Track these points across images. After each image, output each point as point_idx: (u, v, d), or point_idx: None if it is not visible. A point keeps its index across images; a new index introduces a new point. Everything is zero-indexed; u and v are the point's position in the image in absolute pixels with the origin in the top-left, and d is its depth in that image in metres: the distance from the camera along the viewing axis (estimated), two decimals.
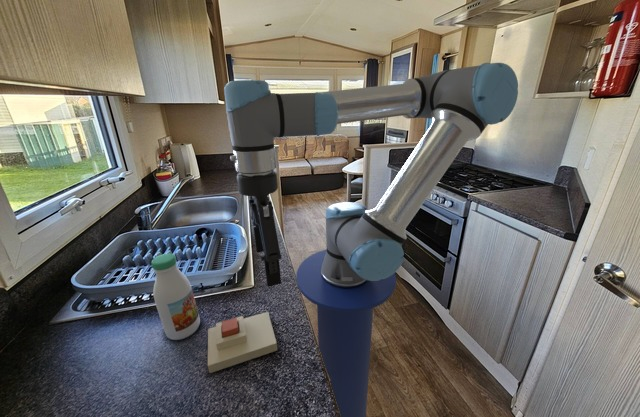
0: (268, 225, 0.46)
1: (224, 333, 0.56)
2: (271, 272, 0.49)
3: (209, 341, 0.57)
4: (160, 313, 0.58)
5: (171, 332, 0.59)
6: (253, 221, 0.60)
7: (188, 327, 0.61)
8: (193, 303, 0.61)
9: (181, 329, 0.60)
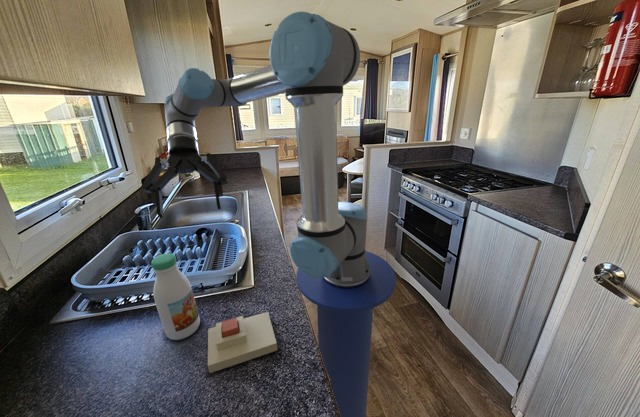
0: None
1: (224, 333, 0.56)
2: None
3: (209, 341, 0.57)
4: (160, 313, 0.58)
5: (171, 332, 0.59)
6: (214, 182, 0.72)
7: (188, 327, 0.61)
8: (193, 303, 0.61)
9: (181, 329, 0.60)
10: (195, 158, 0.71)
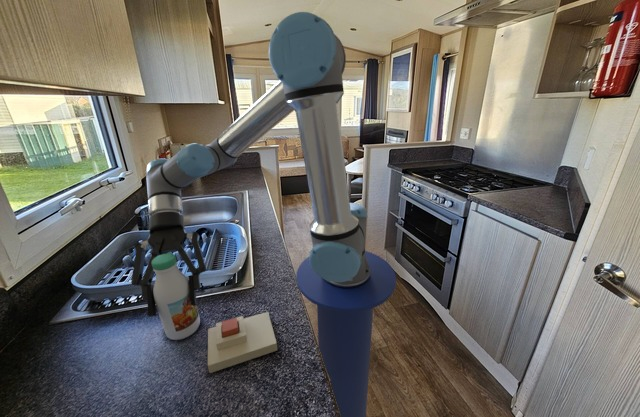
0: None
1: (224, 333, 0.56)
2: None
3: (209, 341, 0.57)
4: (160, 313, 0.58)
5: (171, 332, 0.59)
6: None
7: (188, 327, 0.61)
8: None
9: (181, 329, 0.60)
10: (179, 235, 0.63)
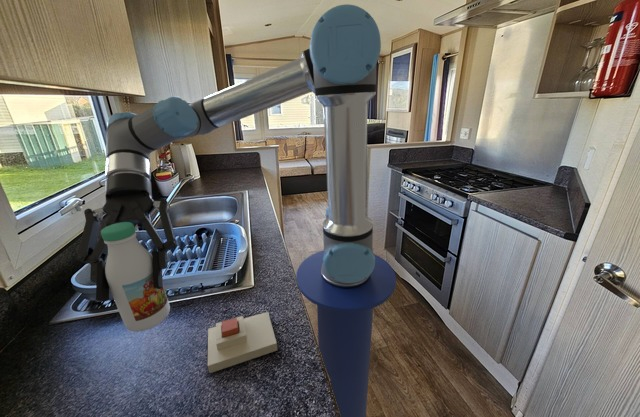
0: None
1: (224, 333, 0.56)
2: None
3: (209, 341, 0.57)
4: (114, 297, 0.46)
5: (130, 322, 0.47)
6: None
7: (152, 316, 0.48)
8: None
9: (143, 318, 0.48)
10: (143, 203, 0.51)
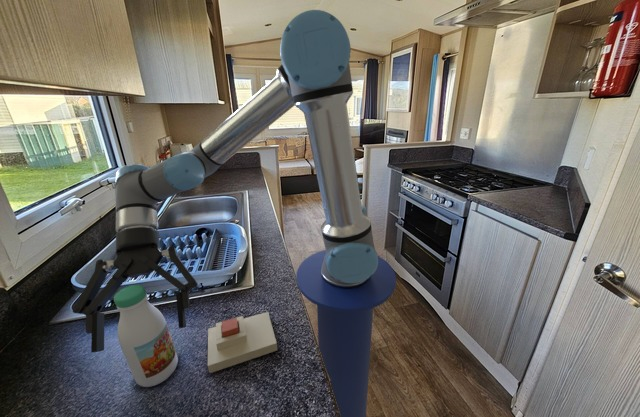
0: None
1: (224, 333, 0.56)
2: None
3: (209, 341, 0.57)
4: (126, 357, 0.48)
5: (140, 379, 0.49)
6: None
7: (161, 371, 0.51)
8: (168, 342, 0.51)
9: (153, 374, 0.50)
10: (152, 256, 0.54)
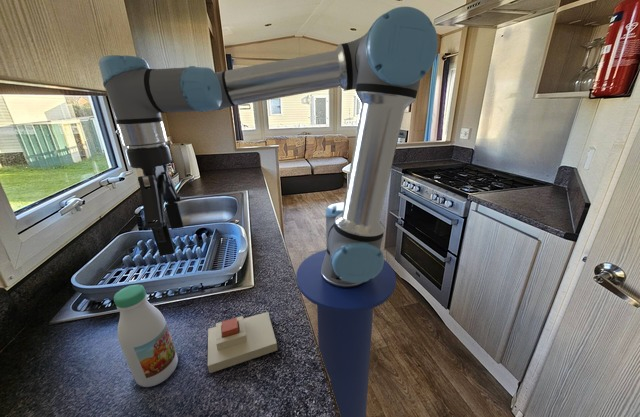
0: (149, 194, 0.48)
1: (224, 333, 0.56)
2: (158, 240, 0.51)
3: (209, 341, 0.57)
4: (126, 357, 0.48)
5: (140, 379, 0.49)
6: None
7: (161, 371, 0.51)
8: (168, 342, 0.51)
9: (153, 374, 0.50)
10: (163, 172, 0.57)
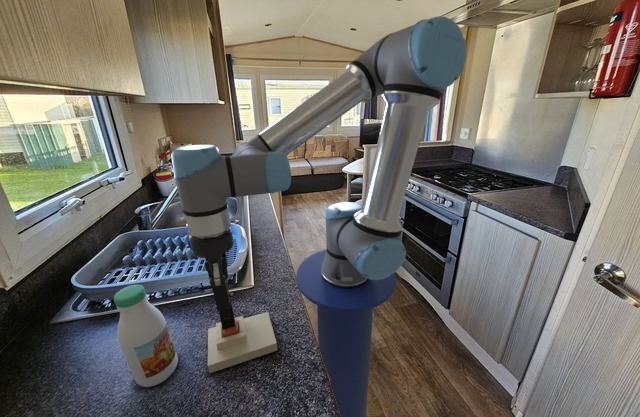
0: (220, 291, 0.48)
1: (224, 335, 0.56)
2: (224, 318, 0.55)
3: (209, 341, 0.57)
4: (126, 357, 0.48)
5: (140, 379, 0.49)
6: None
7: (161, 371, 0.51)
8: (168, 342, 0.51)
9: (153, 374, 0.50)
10: None
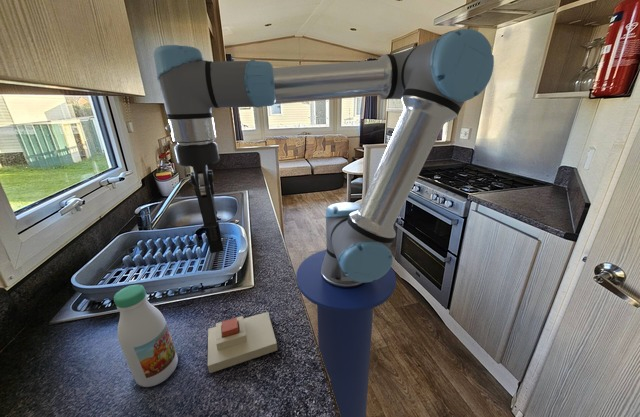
0: (205, 202, 0.49)
1: (224, 333, 0.56)
2: (211, 239, 0.55)
3: (209, 341, 0.57)
4: (126, 357, 0.48)
5: (140, 379, 0.49)
6: None
7: (161, 371, 0.51)
8: (168, 342, 0.51)
9: (153, 374, 0.50)
10: (207, 169, 0.54)
